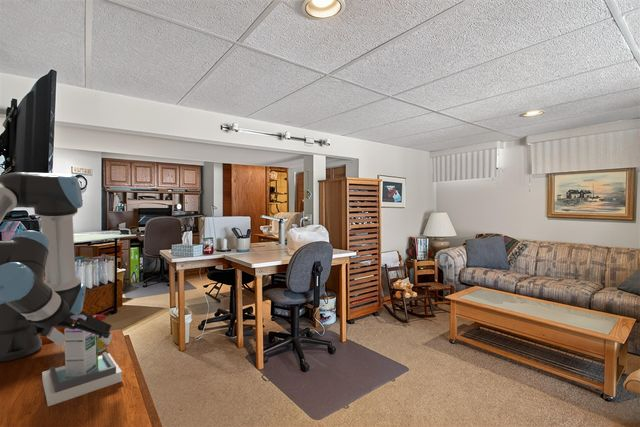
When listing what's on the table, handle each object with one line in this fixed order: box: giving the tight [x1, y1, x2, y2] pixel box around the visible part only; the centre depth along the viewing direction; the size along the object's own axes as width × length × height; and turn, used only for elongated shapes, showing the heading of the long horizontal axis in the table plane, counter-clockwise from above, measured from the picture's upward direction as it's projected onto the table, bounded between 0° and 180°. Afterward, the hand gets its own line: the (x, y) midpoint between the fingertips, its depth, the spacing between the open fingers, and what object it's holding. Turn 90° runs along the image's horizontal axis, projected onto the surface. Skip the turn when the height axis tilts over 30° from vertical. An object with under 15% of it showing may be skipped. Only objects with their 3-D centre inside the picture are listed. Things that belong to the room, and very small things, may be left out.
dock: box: [41, 351, 123, 407], centre depth 95 cm, size 16×17×5 cm
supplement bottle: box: [97, 337, 107, 353], centre depth 115 cm, size 5×5×10 cm
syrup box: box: [63, 324, 99, 377], centre depth 94 cm, size 6×6×14 cm
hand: (86, 340), depth 95 cm, fingers open, 13 cm apart
